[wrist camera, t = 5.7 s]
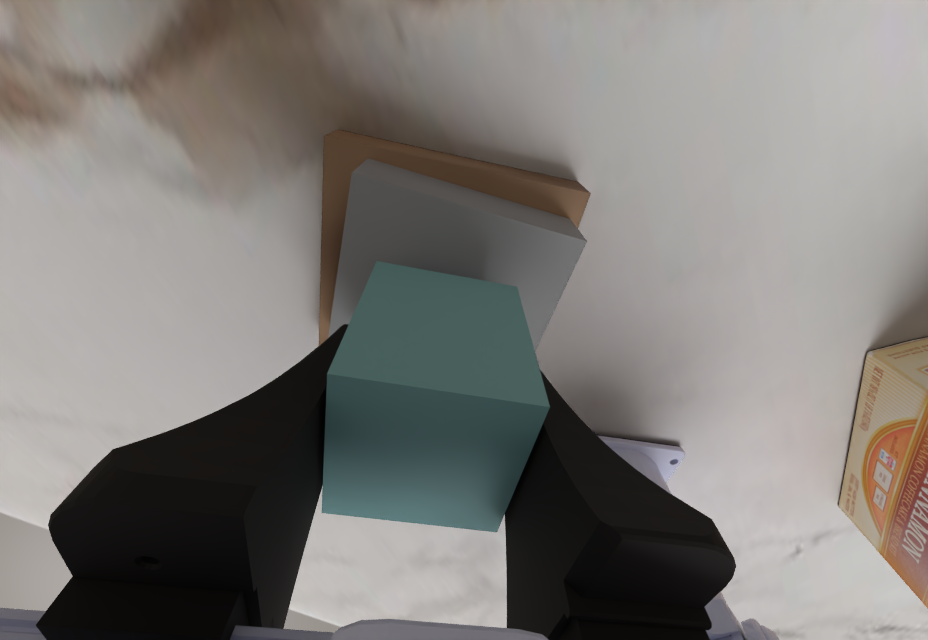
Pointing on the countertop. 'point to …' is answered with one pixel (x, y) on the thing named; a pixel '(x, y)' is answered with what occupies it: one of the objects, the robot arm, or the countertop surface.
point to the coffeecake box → (892, 460)
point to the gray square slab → (452, 240)
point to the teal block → (431, 401)
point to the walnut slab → (481, 176)
